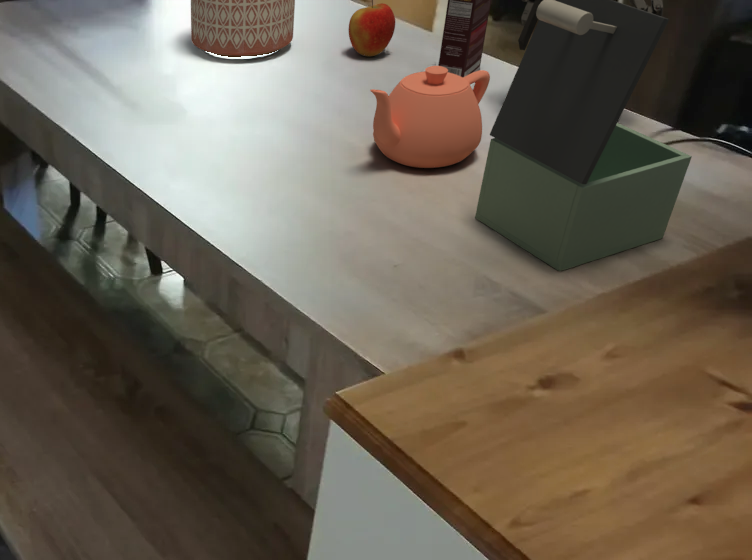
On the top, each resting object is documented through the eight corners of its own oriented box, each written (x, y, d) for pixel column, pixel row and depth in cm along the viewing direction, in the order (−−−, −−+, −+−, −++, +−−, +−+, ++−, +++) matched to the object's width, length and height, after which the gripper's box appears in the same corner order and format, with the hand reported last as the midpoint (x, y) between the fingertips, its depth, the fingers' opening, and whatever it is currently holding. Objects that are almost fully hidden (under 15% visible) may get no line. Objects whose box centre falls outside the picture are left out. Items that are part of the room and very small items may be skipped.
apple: (365, 65, 166) (372, 5, 159) (337, 52, 171) (342, -6, 164) (400, 55, 168) (408, -3, 162) (372, 43, 174) (378, -14, 167)
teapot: (395, 192, 129) (407, 104, 121) (328, 154, 139) (335, 70, 131) (512, 153, 136) (531, 68, 128) (441, 120, 146) (454, 39, 138)
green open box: (572, 189, 127) (593, 111, 120) (662, 238, 116) (692, 156, 109) (474, 217, 122) (490, 138, 115) (559, 271, 112) (582, 188, 104)
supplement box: (453, 66, 163) (469, -32, 153) (480, 70, 161) (498, -29, 150) (433, 82, 158) (449, -19, 148) (460, 87, 156) (478, -15, 145)
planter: (239, 23, 186) (241, -59, 176) (313, 43, 175) (319, -42, 165) (170, 48, 177) (168, -37, 167) (243, 71, 166) (245, -18, 156)
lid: (559, -18, 105) (517, -28, 102) (669, 19, 95) (625, 8, 91) (493, 135, 115) (452, 130, 112) (586, 184, 104) (543, 180, 101)
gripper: (717, -60, 132) (656, 80, 133) (542, -78, 144) (487, 52, 145) (722, -95, 126) (658, 53, 127) (538, -110, 137) (481, 26, 138)
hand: (567, 53), depth 136 cm, fingers open, 13 cm apart
